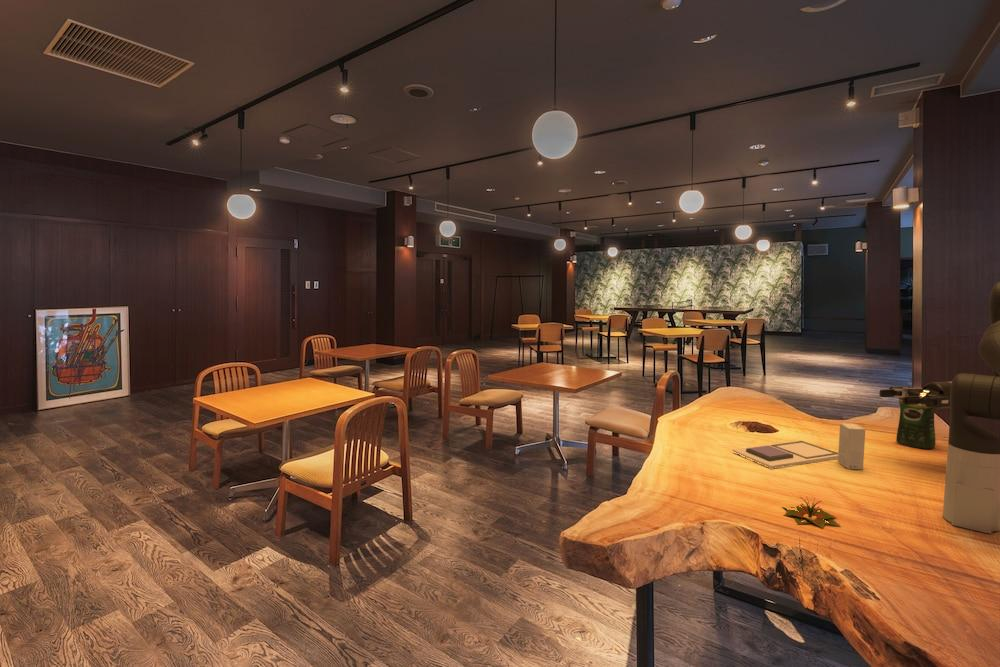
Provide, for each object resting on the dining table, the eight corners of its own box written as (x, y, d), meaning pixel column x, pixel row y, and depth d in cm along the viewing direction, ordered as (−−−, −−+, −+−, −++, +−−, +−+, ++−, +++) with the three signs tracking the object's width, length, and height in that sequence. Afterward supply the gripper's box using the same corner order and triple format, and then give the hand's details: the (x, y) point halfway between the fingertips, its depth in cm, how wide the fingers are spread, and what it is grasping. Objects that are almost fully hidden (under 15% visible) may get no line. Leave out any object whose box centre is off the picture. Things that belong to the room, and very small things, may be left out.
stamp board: (800, 443, 164) (800, 436, 164) (843, 458, 149) (843, 451, 149) (732, 452, 155) (732, 445, 155) (771, 469, 141) (771, 461, 141)
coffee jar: (938, 446, 158) (942, 390, 157) (928, 451, 154) (932, 393, 153) (902, 439, 167) (906, 385, 165) (891, 443, 163) (895, 388, 161)
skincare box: (863, 470, 140) (866, 429, 139) (847, 469, 141) (849, 428, 139) (853, 462, 146) (855, 423, 144) (837, 461, 146) (839, 422, 145)
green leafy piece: (793, 530, 107) (794, 510, 107) (771, 505, 119) (772, 487, 119) (853, 533, 106) (854, 513, 105) (825, 508, 117) (826, 490, 117)
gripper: (928, 376, 147) (873, 379, 147) (973, 387, 133) (912, 390, 133) (927, 401, 148) (872, 403, 148) (971, 414, 134) (910, 416, 134)
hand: (891, 397), depth 141 cm, fingers open, 8 cm apart
